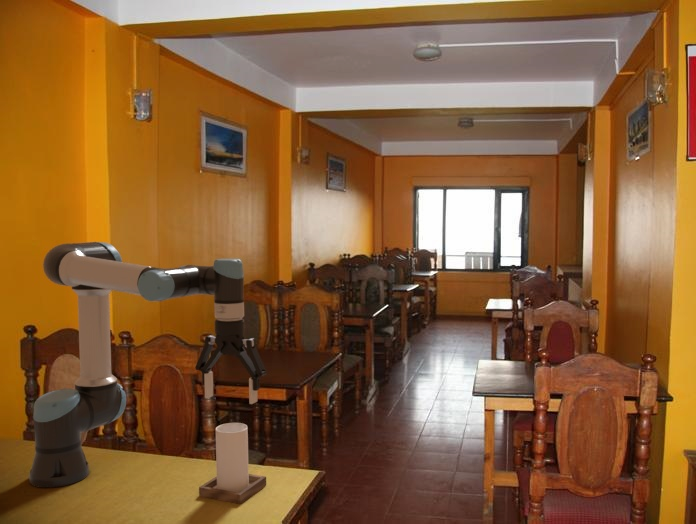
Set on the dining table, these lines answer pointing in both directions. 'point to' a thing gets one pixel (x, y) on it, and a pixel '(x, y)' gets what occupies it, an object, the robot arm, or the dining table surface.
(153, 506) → the dining table surface
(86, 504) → the dining table surface
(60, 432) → the robot arm
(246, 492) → the square wooden tray
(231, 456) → the cup
